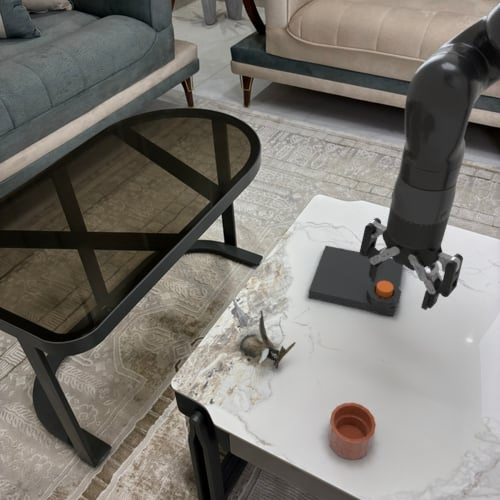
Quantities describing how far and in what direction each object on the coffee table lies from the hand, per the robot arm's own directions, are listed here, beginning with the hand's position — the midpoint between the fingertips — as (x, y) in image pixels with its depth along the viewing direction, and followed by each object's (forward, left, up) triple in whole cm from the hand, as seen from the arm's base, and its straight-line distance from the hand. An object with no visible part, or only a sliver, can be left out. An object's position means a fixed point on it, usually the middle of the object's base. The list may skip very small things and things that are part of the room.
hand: (400, 292), depth 76 cm
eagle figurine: (+20, +6, -15) cm, 26 cm away
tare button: (+2, -11, -11) cm, 16 cm away
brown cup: (+3, +18, -15) cm, 23 cm away
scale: (+8, -16, -15) cm, 23 cm away
